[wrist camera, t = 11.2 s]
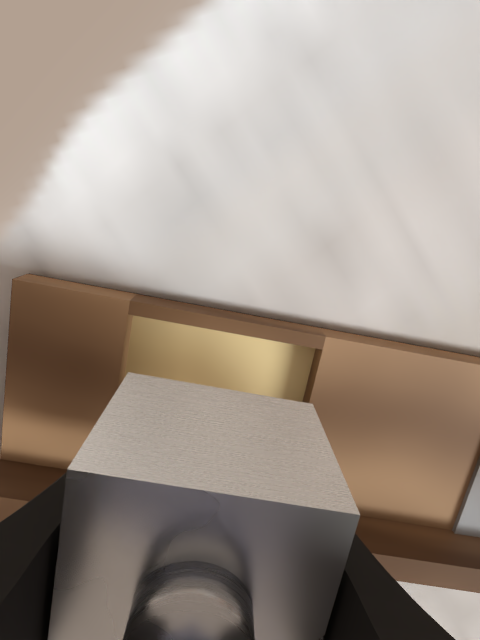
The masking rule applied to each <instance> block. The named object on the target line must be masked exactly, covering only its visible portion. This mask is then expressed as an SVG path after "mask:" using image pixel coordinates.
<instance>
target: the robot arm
mask: <svg viewBox="0 0 480 640" xmlns="http://www.w3.org/2000/svg"><path fill="white" fill-rule="evenodd" d="M66 475H67V472H66V473H65V474H63V475H62V476H61V477H60V478H59V479H57V480H56V481H55V482H54V483H52V484H51V485H50V486H49V487H47V488H46V489H45V490H44V491H42V492H41V493H40V494H38V495H37V496H36V497H34V498H33V499H32V500H30V501H29V502H28V503H26V504H25V505H24V506H22V507H21V508H20V509H18V510H17V511H15V512H14V513H13V514H11V515H10V516H8V517H7V518H5V519H4V520H2V521H1V522H0V640H48V632H49V623H50V615H51V606H52V597H53V588H54V580H55V571H56V562H57V553H58V545H59V536H60V527H61V518H62V510H63V501H64V492H65V483H66ZM323 640H455V639H454V638H453V637H452V636H451V635H450V634H449V633H448V632H446V631H445V630H444V629H443V628H442V627H441V626H440V625H439V624H438V623H437V622H436V621H435V620H434V619H433V618H432V617H431V616H430V615H428V614H427V613H426V612H425V611H424V610H423V609H422V608H421V607H420V606H419V605H418V604H417V603H416V602H415V601H414V600H413V599H412V598H411V597H410V596H409V594H408V593H407V592H406V591H405V590H404V589H403V588H402V587H401V586H400V585H399V584H398V583H397V581H396V580H395V579H394V578H393V577H392V576H391V575H390V574H389V573H388V572H387V570H386V569H385V568H384V567H383V566H382V565H381V564H380V562H379V561H378V560H377V559H376V558H375V557H374V555H373V554H372V553H371V552H370V551H369V549H368V548H367V547H366V546H365V545H364V543H363V542H362V541H361V540H360V538H359V537H358V536H357V535H356V533H355V535H354V538H353V541H352V545H351V548H350V551H349V555H348V558H347V561H346V565H345V568H344V572H343V575H342V578H341V582H340V585H339V588H338V592H337V595H336V598H335V602H334V605H333V608H332V612H331V615H330V619H329V622H328V625H327V629H326V632H325V635H324V639H323Z"/></svg>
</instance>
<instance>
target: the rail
mask: <svg viewBox="0 0 480 640" xmlns="http://www.w3.org/2000/svg"><path fill="white" fill-rule="evenodd" d="M128 372H130V373H136V374H142V375H148V376H154V377H159V378H165V379H171V380H177V381H183V382H188V383H194V384H200V385H206V386H212V387H217V388H223V389H229V390H235V391H241V392H246V393H252V394H258V395H264V396H270V397H275V398H281V399H287V400H293V401H299V402H304V403H310V404H313V406H314V408H315V410H316V413H317V415H318V417H319V420H320V422H321V424H322V427H323V429H324V431H325V434H326V436H327V438H328V441H329V443H330V445H331V448H332V450H333V452H334V455H335V457H336V459H337V462H338V464H339V466H340V469H341V471H342V473H343V476H344V478H345V480H346V483H347V485H348V487H349V490H350V492H351V494H352V497H353V499H354V501H355V504H356V506H357V508H358V511H359V513H360V518H359V521H358V524H357V528H356V531H355V533H356V535H357V536H358V537H359V538H360V540H361V541H362V542H363V543H364V545H365V546H366V547H367V548H368V549H369V551H370V552H371V553H372V554H373V555H374V557H375V558H376V559H377V560H378V561H379V562H380V564H381V565H382V566H383V567H384V568H385V569H386V570H387V572H388V573H389V574H390V575H391V576H392V577H393V578H394V579H395V580H396V581H402V582H409V583H415V584H422V585H429V586H436V587H442V588H449V589H456V590H463V591H470V592H476V593H480V357H476V356H470V355H465V354H460V353H454V352H449V351H443V350H438V349H433V348H427V347H422V346H416V345H411V344H406V343H400V342H395V341H389V340H384V339H379V338H373V337H368V336H362V335H357V334H351V333H346V332H341V331H335V330H330V329H324V328H319V327H314V326H308V325H303V324H297V323H292V322H287V321H281V320H276V319H270V318H265V317H260V316H254V315H249V314H243V313H238V312H233V311H227V310H222V309H216V308H211V307H205V306H200V305H195V304H189V303H184V302H178V301H173V300H168V299H162V298H157V297H151V296H146V295H141V294H135V293H130V292H124V291H119V290H114V289H108V288H103V287H97V286H92V285H86V284H81V283H76V282H70V281H65V280H59V279H54V278H49V277H43V276H38V275H32V274H26V275H23V276H20V277H17V278H14V279H12V291H11V306H10V321H9V336H8V351H7V366H6V380H5V395H4V410H3V425H2V440H1V455H0V522H1V521H2V520H4V519H5V518H7V517H8V516H10V515H11V514H13V513H14V512H15V511H17V510H18V509H20V508H21V507H22V506H24V505H25V504H26V503H28V502H29V501H30V500H32V499H33V498H34V497H36V496H37V495H38V494H40V493H41V492H42V491H44V490H45V489H46V488H47V487H49V486H50V485H51V484H52V483H54V482H55V481H56V480H57V479H59V478H60V477H61V476H62V475H63V474H65V473H66V472H67V469H68V467H69V465H70V464H71V462H72V461H73V459H74V457H75V456H76V454H77V453H78V451H79V450H80V448H81V446H82V445H83V443H84V442H85V440H86V438H87V437H88V435H89V434H90V432H91V431H92V429H93V427H94V426H95V424H96V423H97V421H98V419H99V418H100V416H101V415H102V413H103V411H104V410H105V408H106V407H107V405H108V404H109V402H110V400H111V399H112V397H113V396H114V394H115V392H116V391H117V389H118V388H119V386H120V384H121V383H122V381H123V380H124V378H125V377H126V375H127V373H128Z"/></svg>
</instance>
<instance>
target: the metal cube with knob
mask: <svg viewBox="0 0 480 640" xmlns="http://www.w3.org/2000/svg"><path fill="white" fill-rule="evenodd" d="M359 518H360V513H359V511H358V508H357V506H356V504H355V501H354V499H353V497H352V494H351V492H350V490H349V487H348V485H347V483H346V480H345V478H344V476H343V473H342V471H341V469H340V466H339V464H338V462H337V459H336V457H335V455H334V452H333V450H332V448H331V445H330V443H329V441H328V438H327V436H326V434H325V431H324V429H323V427H322V424H321V422H320V420H319V417H318V415H317V413H316V410H315V408H314V406H313V404H310V403H304V402H299V401H293V400H287V399H281V398H275V397H270V396H264V395H258V394H252V393H246V392H241V391H235V390H229V389H223V388H217V387H212V386H206V385H200V384H194V383H188V382H183V381H177V380H171V379H165V378H159V377H154V376H148V375H142V374H136V373H130V372H128V373H127V375H126V377H125V378H124V380H123V381H122V383H121V384H120V386H119V388H118V389H117V391H116V392H115V394H114V396H113V397H112V399H111V400H110V402H109V404H108V405H107V407H106V408H105V410H104V411H103V413H102V415H101V416H100V418H99V419H98V421H97V423H96V424H95V426H94V427H93V429H92V431H91V432H90V434H89V435H88V437H87V438H86V440H85V442H84V443H83V445H82V446H81V448H80V450H79V451H78V453H77V454H76V456H75V457H74V459H73V461H72V462H71V464H70V465H69V467H68V469H67V475H66V483H65V492H64V501H63V510H62V518H61V527H60V536H59V545H58V553H57V562H56V571H55V580H54V588H53V597H52V606H51V615H50V623H49V632H48V640H323V639H324V635H325V632H326V629H327V625H328V622H329V619H330V615H331V612H332V608H333V605H334V602H335V598H336V595H337V592H338V588H339V585H340V582H341V578H342V575H343V572H344V568H345V565H346V561H347V558H348V555H349V551H350V548H351V545H352V541H353V538H354V535H355V531H356V528H357V524H358V521H359Z"/></svg>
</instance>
